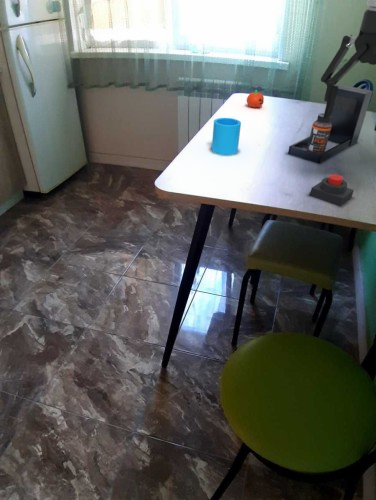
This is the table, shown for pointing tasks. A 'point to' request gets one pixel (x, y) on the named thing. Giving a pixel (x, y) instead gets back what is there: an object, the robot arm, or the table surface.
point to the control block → (332, 192)
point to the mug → (226, 136)
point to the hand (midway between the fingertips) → (351, 123)
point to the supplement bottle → (319, 134)
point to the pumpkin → (255, 99)
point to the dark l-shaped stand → (340, 123)
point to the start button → (335, 180)
